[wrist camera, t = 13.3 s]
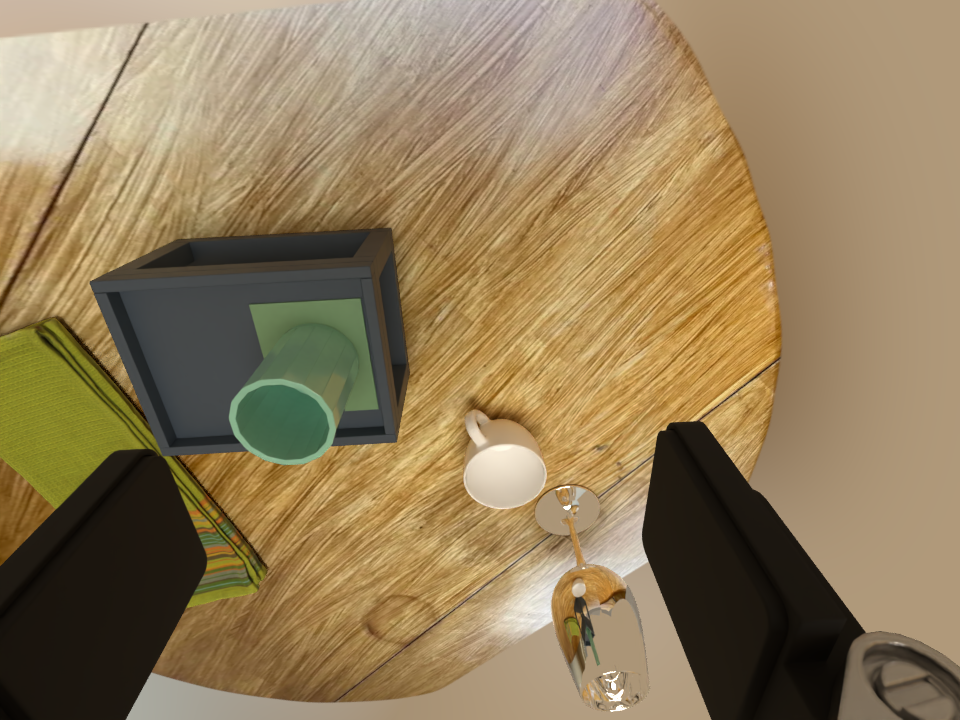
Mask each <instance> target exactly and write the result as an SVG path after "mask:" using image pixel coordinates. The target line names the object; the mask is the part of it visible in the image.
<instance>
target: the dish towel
mask: <svg viewBox="0 0 960 720" xmlns="http://www.w3.org/2000/svg"><path fill="white" fill-rule="evenodd" d="M129 449H153V450H154V451H155V452H156V453H157V454H158V456H162V453H161V451H160V448H159V447H158V444H157V442H156V439H155V437H154V435H153V432H152V430H151V428H150V425H149V424H148V423H147V422H146V421H145V419H144V418H143V417H142V416H141V415H140V413H139V412H138V411H137V410H136V409H135V407H134V406H133V405H132V404H131V402H130V401H129V400H128V399H127V398H126V396H125V395H124V394H123V393H122V391H121V390H120V389H119V388H118V386H117V385H116V384H115V383H114V382H113V381H112V380H111V379H110V377H109V376H108V375H107V374H106V373H105V372H104V371H103V370H102V369H101V368H100V366H99V365H98V364H97V363H96V362H95V361H94V360H93V358H92V357H91V356H90V355H89V354H88V353H87V352H86V351H85V350H84V349H83V348H82V347H81V346H80V344H79V343H78V342H77V341H76V340H75V339H74V337H73V336H72V335H71V334H70V333H69V332H68V331H67V330H66V328H65V327H64V326H63V325H62V324H61V323H60V322H59V321H58V320H57V319H56V318H50V319H46V320H44V321H41V322H38V323H36V324H33V325H30V326H28V327H25V328H23V329H20V330H17V331H15V332H12V333H10V334H7V335H3V336H1V337H0V457H1V458H2V459H3V460H4V461H5V462H6V463H7V464H9V465H10V466H11V467H12V468H13V469H14V470H16V471H17V472H18V473H19V474H20V475H21V476H23V477H24V478H25V479H26V480H27V481H28V482H29V483H30V484H31V485H32V486H33V487H34V488H35V489H36V491H38V492H39V493H40V494H41V495H42V496H43V498H45V499H46V500H47V501H48V502H49V503H50V504H51V505H52V506H53V507H54V508H55V509H57V508H58V507H59V506H60V505H61V504H62V503H63V502H64V501H65V500H66V499H67V498H68V497H69V496H70V495H71V494H72V493H73V492H74V491H75V490H76V489H77V488H78V487H79V486H80V485H81V484H82V483H83V482H84V481H85V479H86V478H87V477H88V476H89V475H90V474H91V473H92V472H93V471H94V470H95V469H96V468H97V467H98V466H99V465H100V464H101V463H102V462H103V461H104V460H105V459H106V458H107V457H108V456H109V455H110V454H112V453H113V452H114V451H118V450H129ZM162 457H164V458H165V459H166V461H167V463H168V465H169V468H170V470H171V472H172V475H173V477H174V479H175V482H176V484H177V486H178V489H179V491H180V493H181V496H182V498H183V500H184V503H185V505H186V507H187V510H188V512H189V514H190V516H191V519H192V521H193V523H194V526H195V528H196V530H197V533H198V535H199V537H200V540H201V542H202V544H203V547H204V549H205V551H206V554H207V567H206V571H205V573H204V576H203V577H202V579H201V581H200V583H199V585H198V587H197V589H196V590H195V592H194V594H193V596H192V598H191V600H190V602H189V603H188V605H187V607H186V608H188V607H192V606H196V605H201V604H205V603H209V602H212V601H216V600H220V599H225V598H232V597H238V596H244V595H248V594H252V593H255V592H257V591H258V589H259V587H260V585H259V584H258V583H259V582H260V581H262V580H263V579H264V578H265V575H266V574H267V572H268V571H267V569H266V568H265V567H264V566H263V565H262V564H261V563H260V561H259V559H258V558H257V556H256V554H255V553H254V551H253V550H252V548H251V547H250V546H249V545H248V543H247V542H246V541H245V540H244V539H243V537H242V536H241V535H240V533H239V532H238V531H237V530H236V529H235V527H234V526H233V525H232V524H231V522H230V521H229V520H228V519H227V518H226V517H225V515H224V514H223V513H222V512H221V510H220V509H219V508H218V507H217V506H216V505H215V503H214V502H213V501H212V500H211V499H210V498H209V496H208V495H207V494H206V493H205V492H204V490H203V489H202V488H201V486H200V485H199V484H198V483H197V482H196V480H195V479H194V478H193V477H192V476H191V475H190V474H189V472H188V471H187V470H186V469H185V468H184V467H183V465H182V464H181V463H180V462H179V460H178V459H177V458H176V457H175V456H162Z"/></svg>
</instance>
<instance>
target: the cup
mask: <svg viewBox="0 0 960 720" xmlns="http://www.w3.org/2000/svg"><path fill="white" fill-rule="evenodd" d="M477 422H478V423H479V424H480V427H478V424H477ZM465 425H466V429H467V432H468V434H469V436H470V437H471V440H470V441H469V444H468V446H467V449H466V452H465V457H464V466H463V476H464V485H465V488H466V490H467V492H468V493H469V495H470V496H471V497H472V498H473V499H474V500H476V501H477V502H479V503H480V504H482V505H485V506H487V507H491V508H496V509H510V508H515V507H519V506H522V505H524V504H526V503H528V502H530V501H531V500H533V499H534V498H535V497H536V496H537V495H538V494H539V493H540V492H541V491H542V489H543V487H544V485H545V482H546V478H547V471H546V466H545V462H544V458H543V455H542V452H541V449H540V447H539V445H538V443H537V441H536V440H535V438H534V437H533V435H532V434H531V433H530V432H529V431H528V430H527V429H526V428H524V427H523V426H522V425H520V424H519V423H517V422H514V421H512V420H508V419H495V420H490V419H489V418H488V417H487V416H486V415H485V414H484V413H483V412H481V411H479V410H475V409H474V410H471V411H469V412H468V413H467V414H466V415H465Z"/></svg>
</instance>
